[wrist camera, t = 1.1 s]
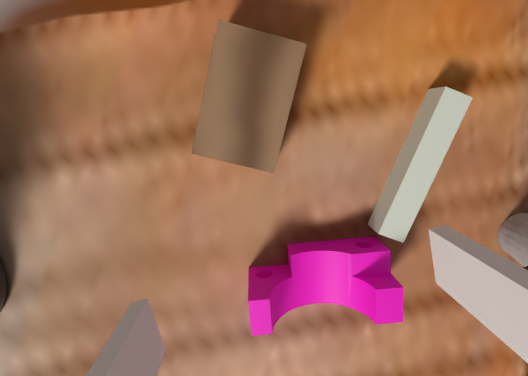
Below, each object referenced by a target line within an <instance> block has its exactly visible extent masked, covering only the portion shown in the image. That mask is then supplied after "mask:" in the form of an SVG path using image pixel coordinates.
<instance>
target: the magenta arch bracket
mask: <svg viewBox="0 0 528 376" xmlns="http://www.w3.org/2000/svg"><path fill="white" fill-rule="evenodd" d="M287 249H288V264H282V265H270V266H259V267H249V289H248V302H249V313H250V324H251V335H252V336H253V335H264V334H272V331H273V328H274V325H275V323H276V322H277V321H278V319H279V318H280V317H281V316H282V315H284V314H285V313H287V312H288V311H290V310H292V309H294V308H297V307H300V306H303V305H308V304H315V303H331V304H339V305H343V306H347V307H350V308H353V309H355V310H358V311H360V312H361V313H363V314H365V315H366V316H368V317H369V318H370V319H371V320H372V321H373V322H374V323H375V324H385V323H396V322H403V286H402V285H401V284H400V283H399V282H398V281H397V280H396V279H395V278H394V276H393V275H392V274H391V251H390V250H389V249H388V248H387V247H386V246H385V245H384V244H383V243H382V242H381V241H380V240H379V239H378V238H377V237H376V236H374V237H362V238H351V239H339V240H327V241H315V242H303V243H292V244H287Z"/></svg>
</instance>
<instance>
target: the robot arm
mask: <svg viewBox="0 0 528 376" xmlns="http://www.w3.org/2000/svg"><path fill="white" fill-rule="evenodd" d="M429 236H430V243H431V250H432V258H433V265H434V272H435V279H436V283H437V284H438V285H439V286H440V287H441V288H442V289H443V290H445V291H446V292H447V293H448V294H449V295H450V296H451V297H453V298H454V299H455V300H456V301H457V302H458V303H459V304H461V305H462V306H463V307H464V308H465V309H466V310H467V311H469V312H470V313H471V314H472V315H473V316H474V317H475V318H477V319H478V320H479V321H480V322H481V323H482V324H483V325H485V326H486V327H487V328H488V329H489V330H490V331H492V332H493V333H494V334H495V335H496V336H497V337H498V338H500V339H501V340H502V341H503V342H504V343H505V344H506V345H508V346H509V347H510V348H511V349H512V350H513V351H514V352H516V353H517V354H518V355H519V356H520V357H521V358H522V359H524V360H525V361H526V362H527V363H528V266H526V267H521V266H519V265H517V264H516V263H514V262H512V261H510V260H508V259H506V258H505V257H503V256H501V255H499V254H497V253H495V252H493V251H492V250H490V249H488V248H486V247H484V246H482V245H481V244H479V243H477V242H475V241H473V240H471V239H470V238H468V237H466V236H464V235H462V234H460V233H459V232H457V231H455V230H453V229H451V228H449V227H447V226H446V225H443V226H439V227H435V228H431V229H429ZM6 290H7V284H6V276H5V272H4V268H3V266H2V263H1V261H0V311H1V309H2V307H3V304H4V301H5V297H6ZM164 353H165V347H164V344H163V341H162V338H161V335H160V332H159V330H158V327H157V324H156V321H155V318H154V315H153V313H152V310H151V307H150V304H149V301H148V299H144V300H140V301H136V302H132V303H131V304H130V305H129V307H128V309H127V310H126V312H125V313H124V315H123V317H122V318H121V320H120V322H119V323H118V325H117V326H116V328H115V330H114V331H113V333H112V335H111V336H110V338H109V339H108V341H107V343H106V344H105V346H104V347H103V349H102V351H101V352H100V354H99V356H98V357H97V359H96V360H95V362H94V364H93V365H92V367H91V369H90V370H89V372H88V373H87V375H86V376H157V374H158V371H159V368H160V365H161V362H162V359H163V356H164Z"/></svg>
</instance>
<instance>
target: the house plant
mask: <svg viewBox="0 0 528 376" xmlns="http://www.w3.org/2000/svg"><path fill="white" fill-rule="evenodd" d="M498 242H499V244H500V246H501V248H502V249H503V250H504V251H505V252H507V253H508V254H509V255H510V256H512V257H513V258H514V259H515V260H517V261H518V262H519V263H520V264H522V265H523V266H524V267H526V266H528V213H518V214H514V215H512V216H510V217H509V218H507V219H506V220H505V221H504V222H503V224H502V225H501V227H500V229H499V232H498Z"/></svg>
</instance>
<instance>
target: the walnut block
mask: <svg viewBox="0 0 528 376" xmlns="http://www.w3.org/2000/svg"><path fill="white" fill-rule="evenodd" d="M306 46H307V44H306V43H302V42H299V41H295V40H291V39H288V38H284V37H280V36H277V35H273V34H270V33H266V32H262V31H259V30H255V29H252V28H248V27H244V26H241V25H237V24H233V23H230V22H226V21H223V20H219V21H218V26H217V31H216V36H215V41H214V46H213V50H212V55H211V60H210V65H209V70H208V75H207V80H206V85H205V90H204V94H203V99H202V104H201V109H200V114H199V119H198V124H197V129H196V134H195V139H194V143H193V148H192V154H196V155H200V156H204V157H208V158H213V159H217V160H221V161H225V162H229V163H234V164H238V165H242V166H246V167H250V168H255V169H259V170H263V171H267V172H271V173H274V171H275V167H276V163H277V159H278V155H279V151H280V147H281V144H282V140H283V136H284V132H285V128H286V124H287V120H288V116H289V112H290V108H291V104H292V100H293V97H294V93H295V89H296V85H297V81H298V77H299V73H300V69H301V65H302V61H303V57H304V53H305V50H306Z"/></svg>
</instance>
